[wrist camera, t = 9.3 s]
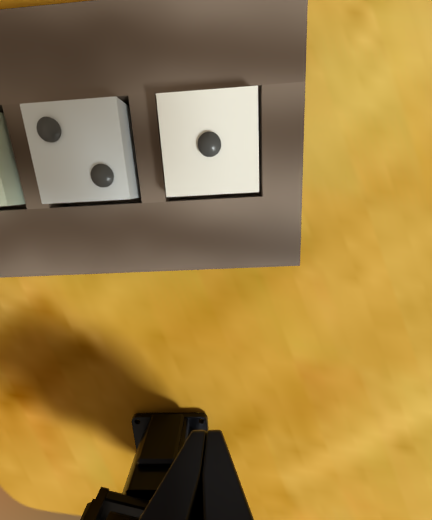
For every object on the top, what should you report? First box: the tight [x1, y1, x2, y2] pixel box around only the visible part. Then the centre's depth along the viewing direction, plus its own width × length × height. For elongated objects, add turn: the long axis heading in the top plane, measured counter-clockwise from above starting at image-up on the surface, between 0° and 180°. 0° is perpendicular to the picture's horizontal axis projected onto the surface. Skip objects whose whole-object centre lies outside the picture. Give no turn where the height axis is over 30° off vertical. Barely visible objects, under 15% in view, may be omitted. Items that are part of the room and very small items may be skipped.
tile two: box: [20, 96, 141, 204], centre depth 16 cm, size 5×5×3 cm
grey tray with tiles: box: [0, 0, 308, 277], centre depth 17 cm, size 14×24×3 cm, turn 93°
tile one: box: [156, 86, 259, 197], centre depth 15 cm, size 5×5×3 cm
